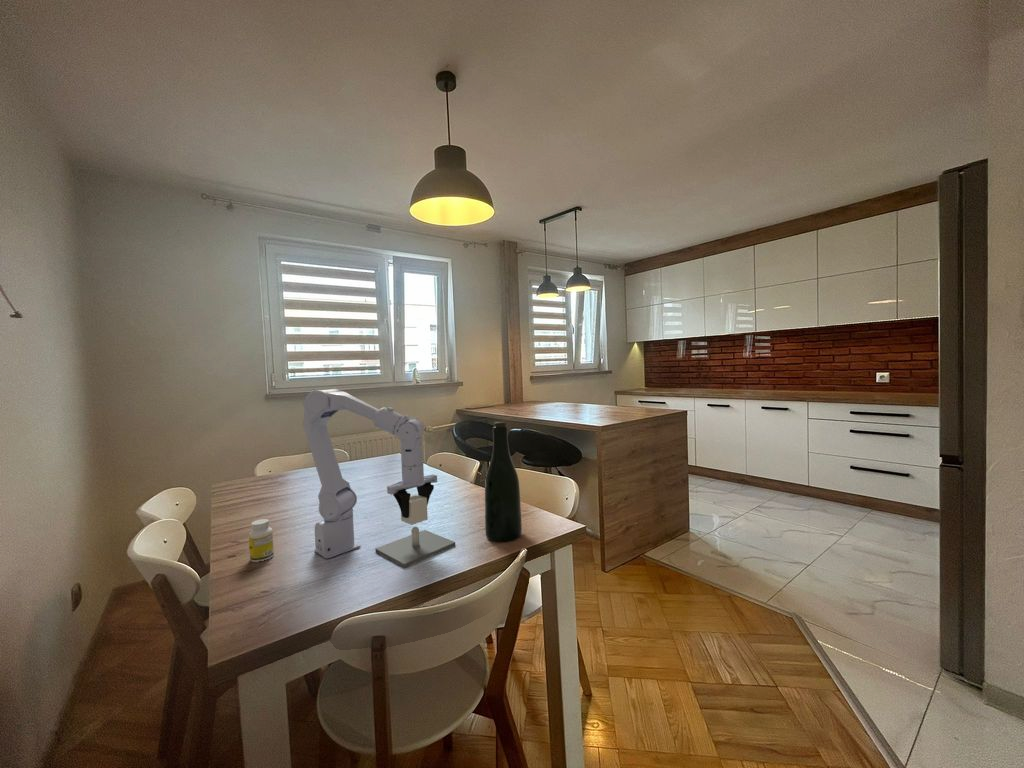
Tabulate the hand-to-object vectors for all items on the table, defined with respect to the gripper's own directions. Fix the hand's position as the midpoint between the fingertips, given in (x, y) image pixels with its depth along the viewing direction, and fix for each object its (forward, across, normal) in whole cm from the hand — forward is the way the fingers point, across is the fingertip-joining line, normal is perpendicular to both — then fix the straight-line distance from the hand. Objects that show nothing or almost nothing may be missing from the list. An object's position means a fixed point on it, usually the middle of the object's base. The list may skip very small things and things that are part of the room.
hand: (414, 514), depth 109 cm
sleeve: (+2, 0, 0) cm, 2 cm away
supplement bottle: (+10, -29, +28) cm, 41 cm away
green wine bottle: (+10, +21, -13) cm, 27 cm away
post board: (+10, 0, 0) cm, 10 cm away
